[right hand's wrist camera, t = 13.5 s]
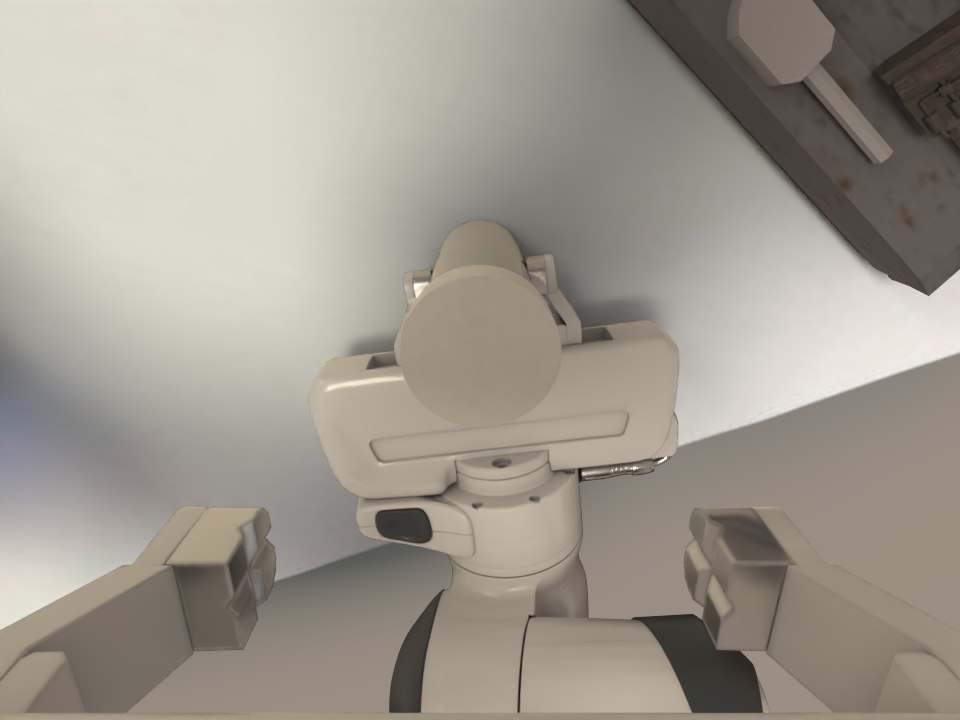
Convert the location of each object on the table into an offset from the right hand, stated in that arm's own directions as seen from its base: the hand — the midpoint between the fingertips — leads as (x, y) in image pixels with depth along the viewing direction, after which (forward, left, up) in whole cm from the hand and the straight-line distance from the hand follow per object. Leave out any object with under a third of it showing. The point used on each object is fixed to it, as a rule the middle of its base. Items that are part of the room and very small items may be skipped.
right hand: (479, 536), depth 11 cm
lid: (0, 0, -10) cm, 10 cm away
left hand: (-1, -1, -21) cm, 21 cm away
